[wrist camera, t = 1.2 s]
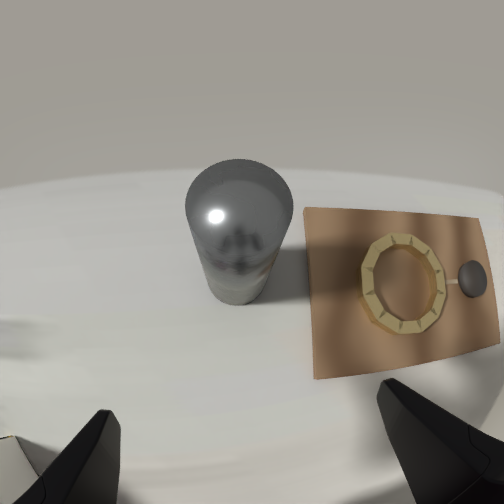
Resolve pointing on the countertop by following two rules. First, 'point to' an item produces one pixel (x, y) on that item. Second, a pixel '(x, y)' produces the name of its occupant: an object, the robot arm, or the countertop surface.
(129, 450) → the countertop surface
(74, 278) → the countertop surface
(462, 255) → the board
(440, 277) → the brass ring
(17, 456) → the medicine bottle
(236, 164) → the steel peg
